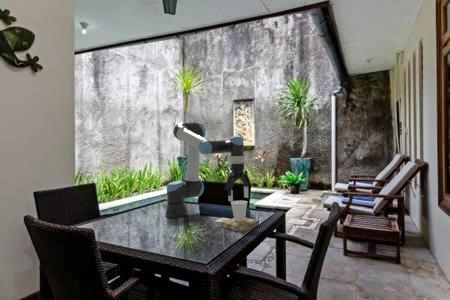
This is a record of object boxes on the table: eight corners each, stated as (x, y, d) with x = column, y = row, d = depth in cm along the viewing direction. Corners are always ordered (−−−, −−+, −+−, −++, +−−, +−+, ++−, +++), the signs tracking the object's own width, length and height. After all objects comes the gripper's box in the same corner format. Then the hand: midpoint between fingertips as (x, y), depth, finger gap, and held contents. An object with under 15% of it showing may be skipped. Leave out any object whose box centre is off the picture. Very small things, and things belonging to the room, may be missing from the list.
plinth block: (220, 227, 176) (220, 221, 176) (239, 221, 187) (238, 216, 187) (241, 232, 164) (241, 226, 164) (259, 225, 176) (259, 220, 176)
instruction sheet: (214, 221, 189) (214, 220, 189) (222, 218, 196) (222, 217, 196) (230, 223, 182) (230, 223, 182) (238, 220, 189) (238, 219, 189)
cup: (247, 223, 170) (246, 203, 170) (229, 222, 172) (229, 203, 172) (249, 218, 180) (248, 200, 179) (232, 218, 182) (232, 200, 181)
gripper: (227, 165, 163) (228, 203, 164) (256, 161, 181) (257, 196, 182) (217, 164, 169) (219, 202, 169) (246, 161, 186) (247, 195, 187)
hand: (238, 199), depth 176 cm, fingers open, 13 cm apart
